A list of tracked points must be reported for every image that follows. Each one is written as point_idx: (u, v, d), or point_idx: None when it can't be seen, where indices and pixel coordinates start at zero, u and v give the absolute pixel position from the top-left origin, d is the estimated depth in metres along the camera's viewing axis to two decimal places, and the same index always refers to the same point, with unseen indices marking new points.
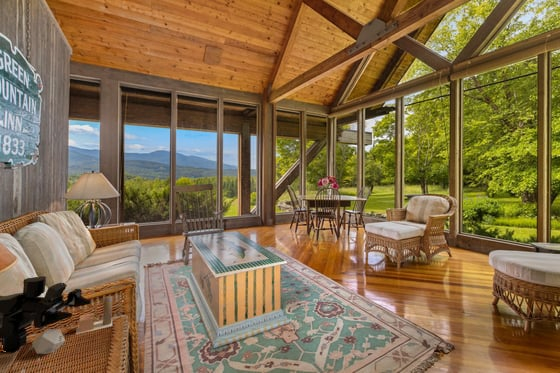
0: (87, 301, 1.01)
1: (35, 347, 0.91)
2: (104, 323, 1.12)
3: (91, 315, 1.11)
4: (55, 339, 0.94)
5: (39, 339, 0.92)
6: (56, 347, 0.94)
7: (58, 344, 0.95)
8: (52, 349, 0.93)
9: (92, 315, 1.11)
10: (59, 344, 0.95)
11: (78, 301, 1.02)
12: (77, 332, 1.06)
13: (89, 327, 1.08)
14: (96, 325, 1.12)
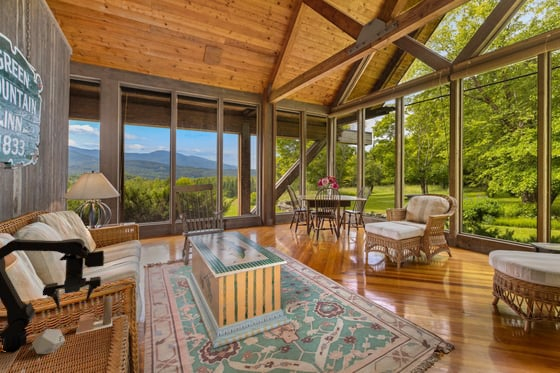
0: (86, 300, 1.08)
1: (35, 347, 0.91)
2: (104, 323, 1.12)
3: (91, 315, 1.11)
4: (55, 339, 0.94)
5: (39, 339, 0.92)
6: (56, 347, 0.94)
7: (58, 344, 0.95)
8: (52, 349, 0.93)
9: (92, 315, 1.11)
10: (59, 344, 0.95)
11: None
12: (77, 332, 1.06)
13: (89, 327, 1.08)
14: (96, 325, 1.12)
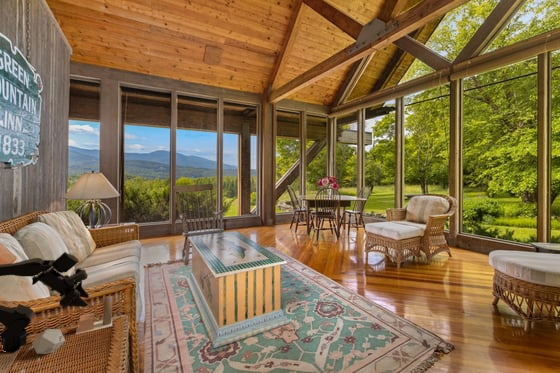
0: (87, 295, 1.13)
1: (35, 347, 0.91)
2: (104, 323, 1.12)
3: (91, 315, 1.11)
4: (55, 339, 0.94)
5: (39, 339, 0.92)
6: (56, 347, 0.94)
7: (58, 344, 0.95)
8: (52, 349, 0.93)
9: (92, 315, 1.11)
10: (59, 344, 0.95)
11: (78, 291, 1.11)
12: (77, 332, 1.06)
13: (89, 327, 1.08)
14: (96, 325, 1.12)
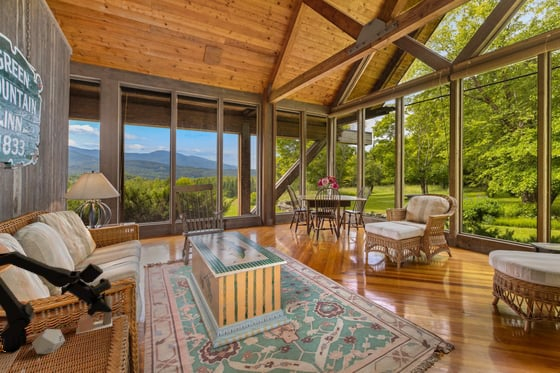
0: None
1: (35, 347, 0.91)
2: (104, 323, 1.12)
3: None
4: (55, 339, 0.94)
5: (39, 339, 0.92)
6: (56, 347, 0.94)
7: (58, 344, 0.95)
8: (52, 349, 0.93)
9: (92, 315, 1.11)
10: (59, 344, 0.95)
11: None
12: (77, 332, 1.06)
13: (89, 327, 1.08)
14: (96, 325, 1.12)
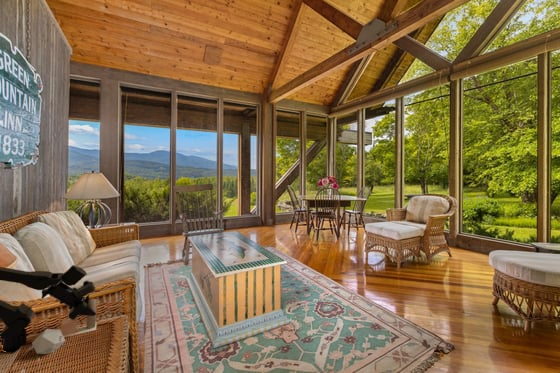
0: None
1: (35, 347, 0.91)
2: (88, 327, 1.09)
3: (74, 319, 1.07)
4: (55, 339, 0.94)
5: (39, 339, 0.92)
6: (56, 347, 0.94)
7: (58, 344, 0.95)
8: (52, 349, 0.93)
9: (75, 319, 1.07)
10: (59, 344, 0.95)
11: None
12: None
13: (71, 331, 1.05)
14: (79, 329, 1.08)
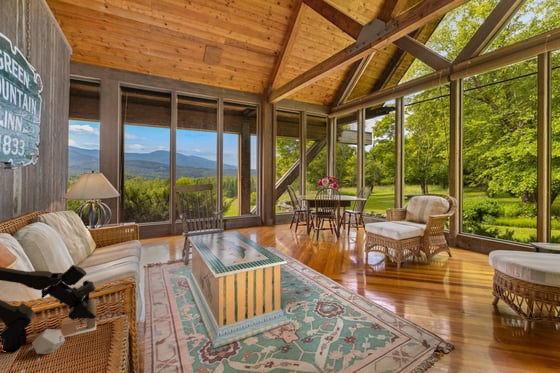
0: None
1: (35, 347, 0.91)
2: (87, 327, 1.09)
3: (74, 319, 1.07)
4: (55, 339, 0.94)
5: (39, 339, 0.92)
6: (56, 347, 0.94)
7: (58, 344, 0.95)
8: (52, 349, 0.93)
9: (75, 319, 1.07)
10: (59, 344, 0.95)
11: (85, 302, 1.13)
12: None
13: (71, 331, 1.05)
14: (79, 329, 1.08)
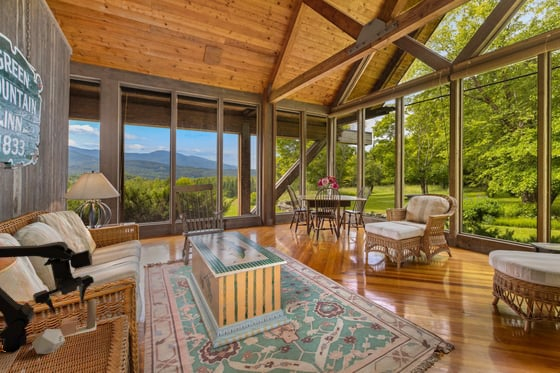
0: (81, 299, 1.08)
1: (35, 347, 0.91)
2: (87, 327, 1.09)
3: (74, 319, 1.07)
4: (55, 339, 0.94)
5: (39, 339, 0.92)
6: (56, 347, 0.94)
7: (58, 344, 0.95)
8: (52, 349, 0.93)
9: (75, 319, 1.07)
10: (59, 344, 0.95)
11: (80, 290, 1.08)
12: None
13: (71, 331, 1.05)
14: (79, 329, 1.08)
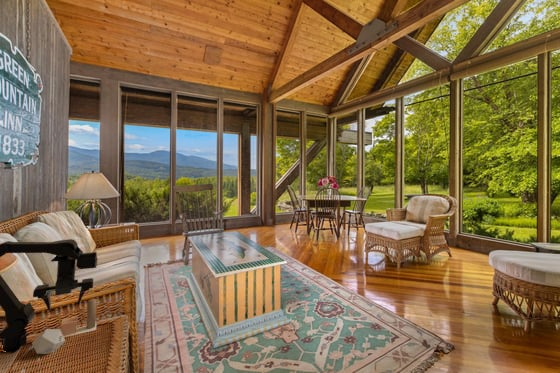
0: None
1: (35, 347, 0.91)
2: (87, 327, 1.09)
3: (74, 319, 1.07)
4: (55, 339, 0.94)
5: (39, 339, 0.92)
6: (56, 347, 0.94)
7: (58, 344, 0.95)
8: (52, 349, 0.93)
9: (75, 319, 1.07)
10: (59, 344, 0.95)
11: None
12: None
13: (71, 331, 1.05)
14: (79, 329, 1.08)
